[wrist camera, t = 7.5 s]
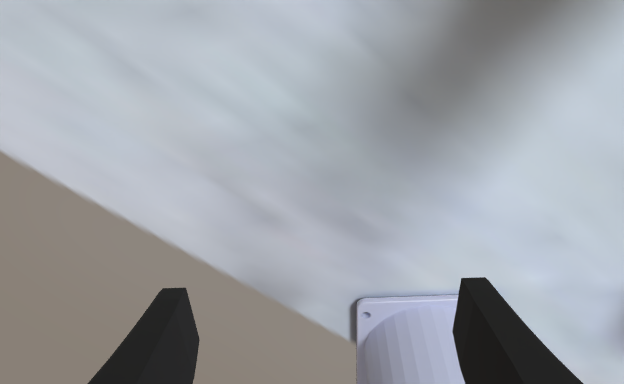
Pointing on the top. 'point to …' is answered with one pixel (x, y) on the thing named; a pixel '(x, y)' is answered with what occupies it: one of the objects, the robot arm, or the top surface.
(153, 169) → the top surface
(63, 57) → the top surface
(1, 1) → the top surface
